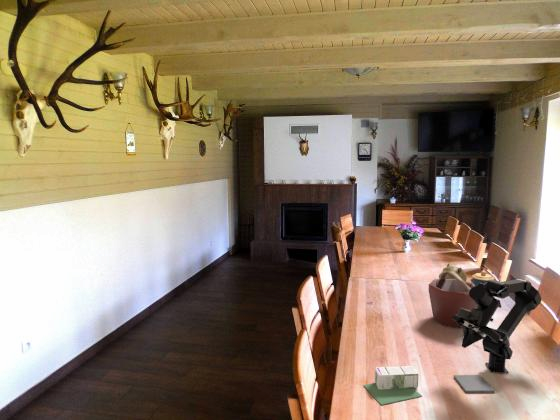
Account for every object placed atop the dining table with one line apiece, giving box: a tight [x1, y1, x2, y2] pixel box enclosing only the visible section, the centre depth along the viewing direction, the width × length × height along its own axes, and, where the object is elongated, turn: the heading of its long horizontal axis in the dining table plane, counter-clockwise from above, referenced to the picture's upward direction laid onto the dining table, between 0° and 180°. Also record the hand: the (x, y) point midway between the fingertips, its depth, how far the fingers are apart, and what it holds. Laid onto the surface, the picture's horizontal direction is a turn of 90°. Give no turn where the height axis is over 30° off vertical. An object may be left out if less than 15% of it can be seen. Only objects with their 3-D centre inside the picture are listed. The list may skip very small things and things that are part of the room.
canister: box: [469, 270, 496, 299], centre depth 226 cm, size 13×13×18 cm
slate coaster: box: [453, 374, 495, 394], centre depth 144 cm, size 10×10×1 cm
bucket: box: [428, 271, 477, 329], centre depth 198 cm, size 24×22×25 cm
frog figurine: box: [438, 263, 468, 282], centre depth 261 cm, size 14×18×12 cm
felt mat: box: [363, 382, 423, 406], centre depth 141 cm, size 16×12×1 cm
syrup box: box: [374, 365, 419, 390], centre depth 144 cm, size 6×6×14 cm
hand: (463, 347), depth 145 cm, fingers closed
